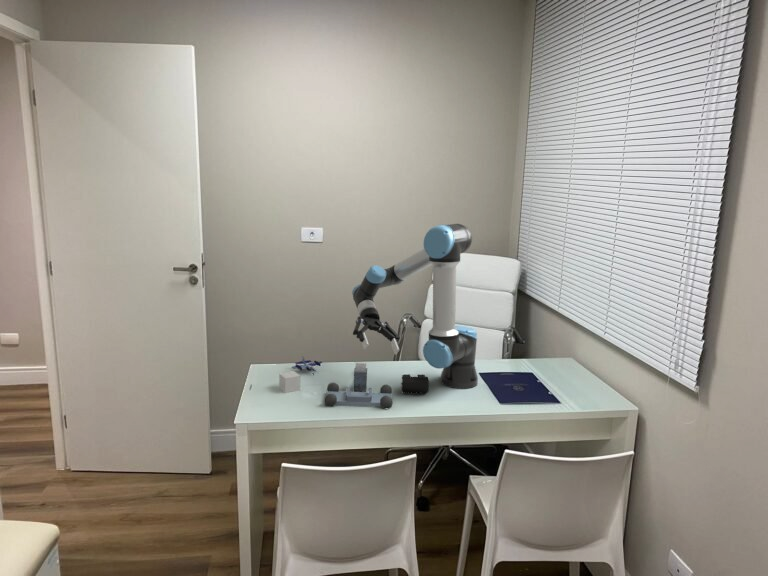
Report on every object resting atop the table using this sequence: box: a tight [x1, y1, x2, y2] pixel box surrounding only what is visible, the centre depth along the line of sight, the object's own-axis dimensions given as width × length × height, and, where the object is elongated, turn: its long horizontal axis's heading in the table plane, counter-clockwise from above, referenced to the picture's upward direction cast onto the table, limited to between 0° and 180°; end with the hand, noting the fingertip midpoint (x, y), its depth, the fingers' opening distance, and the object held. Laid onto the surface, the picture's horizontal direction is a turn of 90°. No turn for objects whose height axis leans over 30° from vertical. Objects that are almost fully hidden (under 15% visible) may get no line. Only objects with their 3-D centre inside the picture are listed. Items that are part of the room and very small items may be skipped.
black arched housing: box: [400, 374, 430, 394], centre depth 221 cm, size 10×7×7 cm
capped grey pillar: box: [352, 362, 368, 393], centre depth 222 cm, size 5×5×10 cm
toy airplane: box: [291, 355, 323, 376], centre depth 239 cm, size 13×14×4 cm
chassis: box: [323, 382, 393, 409], centre depth 212 cm, size 24×12×4 cm, turn 90°
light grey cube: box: [278, 370, 301, 394], centre depth 220 cm, size 6×6×6 cm
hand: (382, 349), depth 219 cm, fingers open, 13 cm apart
